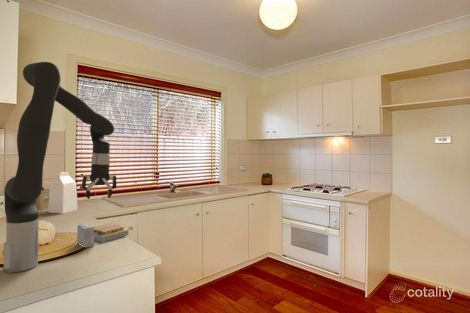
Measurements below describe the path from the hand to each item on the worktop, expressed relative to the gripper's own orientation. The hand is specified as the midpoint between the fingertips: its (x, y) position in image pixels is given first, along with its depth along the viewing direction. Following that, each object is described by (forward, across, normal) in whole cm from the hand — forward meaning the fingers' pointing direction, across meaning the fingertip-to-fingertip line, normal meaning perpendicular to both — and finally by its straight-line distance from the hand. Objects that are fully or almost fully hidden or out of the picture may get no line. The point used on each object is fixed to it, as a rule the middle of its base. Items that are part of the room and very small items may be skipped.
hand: (98, 198), depth 124 cm
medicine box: (+21, -5, -1) cm, 22 cm away
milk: (+20, -8, +75) cm, 78 cm away
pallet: (+18, +6, +7) cm, 20 cm away
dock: (+20, +6, +7) cm, 22 cm away
